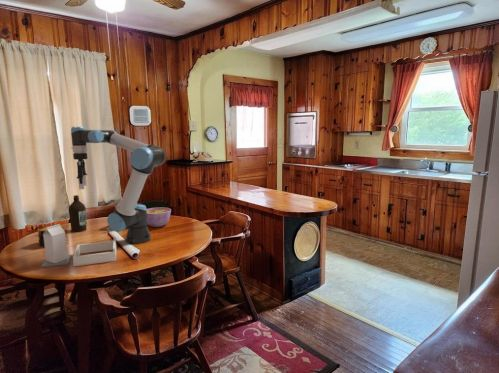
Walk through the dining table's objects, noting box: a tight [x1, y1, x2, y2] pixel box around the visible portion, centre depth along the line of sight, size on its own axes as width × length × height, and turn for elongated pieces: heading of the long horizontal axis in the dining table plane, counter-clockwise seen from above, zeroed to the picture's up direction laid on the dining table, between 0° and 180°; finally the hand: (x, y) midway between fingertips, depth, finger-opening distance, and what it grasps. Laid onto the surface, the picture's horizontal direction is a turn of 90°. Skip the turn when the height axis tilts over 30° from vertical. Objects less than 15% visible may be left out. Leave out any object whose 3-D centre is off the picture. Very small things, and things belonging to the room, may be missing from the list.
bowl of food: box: [146, 206, 172, 228], centre depth 236 cm, size 20×20×12 cm
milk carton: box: [43, 223, 68, 263], centre depth 168 cm, size 7×7×19 cm
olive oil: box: [68, 194, 88, 233], centre depth 223 cm, size 11×11×25 cm
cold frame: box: [72, 236, 117, 267], centre depth 176 cm, size 20×20×7 cm
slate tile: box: [40, 254, 72, 269], centre depth 170 cm, size 12×12×1 cm
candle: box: [37, 225, 65, 247], centre depth 197 cm, size 10×10×10 cm
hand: (83, 187), depth 196 cm, fingers open, 13 cm apart
